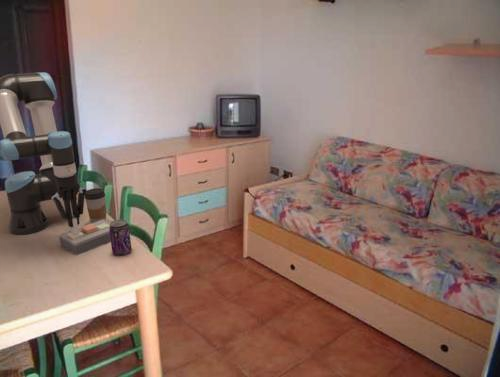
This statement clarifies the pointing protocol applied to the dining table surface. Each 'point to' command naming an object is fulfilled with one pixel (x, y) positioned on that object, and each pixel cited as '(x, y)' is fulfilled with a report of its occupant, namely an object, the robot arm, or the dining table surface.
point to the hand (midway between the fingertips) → (75, 233)
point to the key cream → (75, 235)
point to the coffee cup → (96, 204)
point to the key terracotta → (89, 229)
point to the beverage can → (120, 237)
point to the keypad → (86, 239)
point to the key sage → (103, 226)
